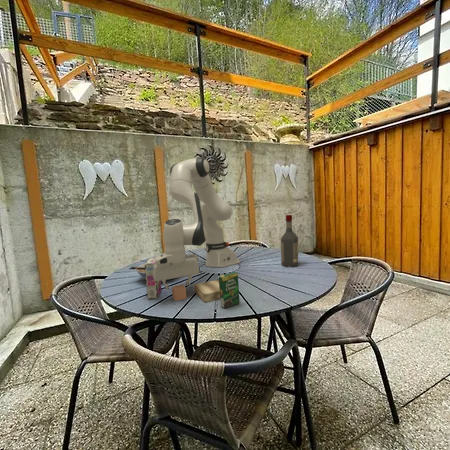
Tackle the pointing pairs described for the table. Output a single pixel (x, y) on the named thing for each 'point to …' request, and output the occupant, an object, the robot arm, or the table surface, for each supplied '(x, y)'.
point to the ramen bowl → (140, 270)
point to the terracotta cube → (179, 292)
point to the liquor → (289, 245)
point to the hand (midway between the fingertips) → (177, 286)
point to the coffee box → (229, 290)
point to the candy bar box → (151, 280)
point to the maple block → (208, 290)
